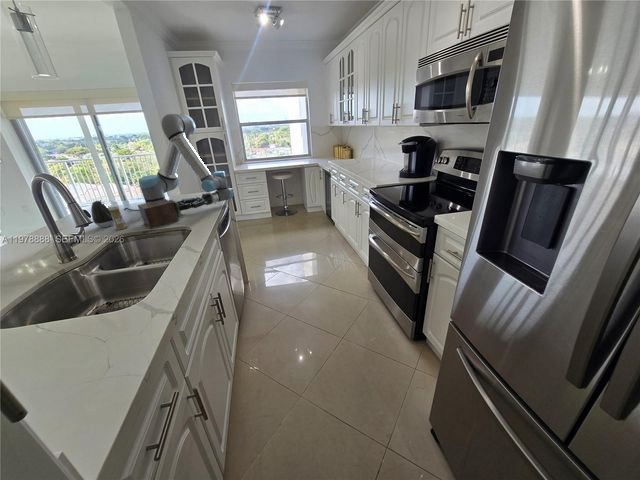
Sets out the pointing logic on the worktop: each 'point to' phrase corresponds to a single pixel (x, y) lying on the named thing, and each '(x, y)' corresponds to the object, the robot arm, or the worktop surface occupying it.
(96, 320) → the worktop surface
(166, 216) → the cabinet
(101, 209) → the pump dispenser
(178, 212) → the drawer
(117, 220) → the sprinkles bottle
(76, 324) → the worktop surface
